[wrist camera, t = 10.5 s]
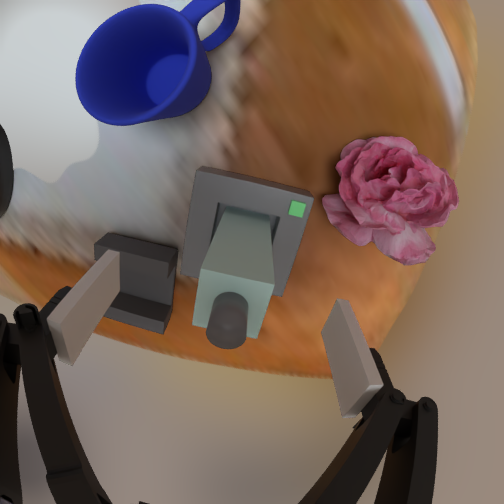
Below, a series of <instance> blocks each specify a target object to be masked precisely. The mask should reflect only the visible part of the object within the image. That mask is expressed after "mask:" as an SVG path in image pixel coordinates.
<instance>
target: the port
mask: <svg viewBox="0 0 504 504" xmlns="http://www.w3.org/2000/svg"><path fill="white" fill-rule="evenodd" d="M313 201H314V197H313V196H312V194H311V193H310V192H309V191H306V190H303V189H299V188H295V187H291V186H287V185H284V184H280V183H276V182H272V181H268V180H264V179H259V178H255V177H251V176H247V175H242V174H238V173H233V172H229V171H224V170H219V169H215V168H210V167H205V166H202V167H201V168H199V169H198V170H196V175H195V180H194V186H193V191H192V197H191V203H190V209H189V215H188V221H187V228H186V234H185V241H184V248H183V256H182V263H181V271H180V274H182V275H186V276H190V277H194V278H199V276H200V270H201V267H202V264H203V262H204V259H205V257H206V254H207V252H208V249H209V247H210V244H211V242H212V240H213V237H214V235H215V232H216V230H217V228H218V225H219V223H220V220H221V218H222V216H223V213H224V211H225V209H226V206H230V207H235V208H239V209H243V210H248V211H252V212H256V213H260V214H265V215H269V217H270V229H271V242H272V254H273V267H274V281H275V286H274V289H273V292H272V295H276V296H281V297H282V295H283V292H284V289H285V286H286V283H287V280H288V278H289V275H290V272H291V269H292V266H293V263H294V260H295V257H296V254H297V251H298V248H299V245H300V242H301V239H302V236H303V232H304V229H305V226H306V223H307V220H308V217H309V214H310V210H311V207H312V204H313Z"/></svg>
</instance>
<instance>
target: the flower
mask: <svg viewBox="0 0 504 504" xmlns="http://www.w3.org/2000/svg"><path fill="white" fill-rule="evenodd" d="M335 168H336V170H337V172H338V173H339V175H340V177H341V181H340V184H339V193H340V194H331V195H324V197H323V198H322V204H323V207H324V209H325V211H326V214H327V216H328V219H329V221H330V223H331V224H332V225H333V226H334V227H335V228H336V229H337V230H338V231H339V232H340V233H341V234H342V235H343V236H344V237H346V238H347V239H349V240H350V241H351V242H353V243H354V244H356V245H358V246H364V245H366V244H368V243H369V242H371V241H373V242H374V243H375V244H376V246H377V248H378V249H379V250H380V251H381V252H382V253H383V254H385V255H386V256H388V257H390V258H392V259H394V260H396V261H398V262H400V263H402V264H403V265H414V264H418V263H425V262H426V261H427V260H428V258H429V257H430V255H431V254H432V253H433V252H434V251H435V249H436V247H435V244H434V243H433V242H432V241H431V238H430V236H429V235H428V234H427V232H426V231H425V229H424V228H428V227H442V226H443V225H444V224H445V223H446V222H447V219H448V217H449V214H450V211H451V210H454V209H456V208H457V207H458V203H459V197H458V192H457V188H456V185H455V182H454V180H453V179H451V178H450V177H449V174H448V172H447V170H446V169H444V168H441V169H439V167H437V166H435V165H434V164H433V162H432V161H431V160H430V159H428V158H427V157H426V156H424V155H422V154H418V152H417V149H416V146H415V145H414V144H413V143H412V142H410V141H409V140H407V139H405V138H403V137H393V136H389V137H383V136H380V137H378V138H376V137H372V138H369V139H367V140H360V139H357V140H355V141H353V142H351V143H349V144H348V145H347V146H345V147H344V148H343V150H342V152H341V161H339V162H338V163H337V164H336V167H335Z"/></svg>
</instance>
